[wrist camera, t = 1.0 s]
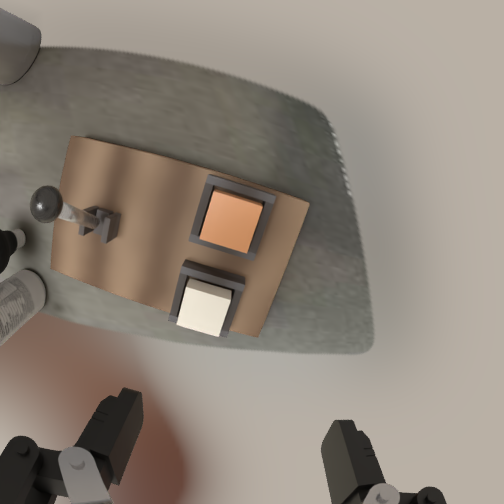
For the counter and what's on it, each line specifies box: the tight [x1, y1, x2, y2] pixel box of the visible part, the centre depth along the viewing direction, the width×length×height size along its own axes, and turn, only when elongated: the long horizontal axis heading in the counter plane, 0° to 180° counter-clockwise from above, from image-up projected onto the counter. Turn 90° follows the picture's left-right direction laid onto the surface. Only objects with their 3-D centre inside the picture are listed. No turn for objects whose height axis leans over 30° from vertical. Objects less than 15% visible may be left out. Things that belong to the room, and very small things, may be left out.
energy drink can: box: [0, 270, 46, 346], centre depth 24 cm, size 6×6×15 cm
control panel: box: [51, 136, 310, 338], centre depth 27 cm, size 25×15×6 cm, turn 72°
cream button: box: [177, 278, 231, 337], centre depth 26 cm, size 4×4×2 cm
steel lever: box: [30, 186, 100, 229], centre depth 19 cm, size 2×2×10 cm
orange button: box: [200, 189, 263, 253], centre depth 24 cm, size 4×4×2 cm
